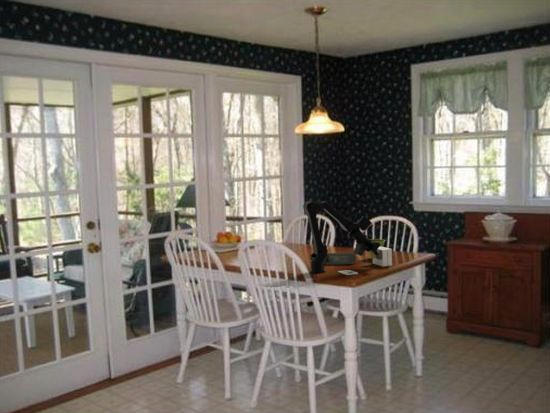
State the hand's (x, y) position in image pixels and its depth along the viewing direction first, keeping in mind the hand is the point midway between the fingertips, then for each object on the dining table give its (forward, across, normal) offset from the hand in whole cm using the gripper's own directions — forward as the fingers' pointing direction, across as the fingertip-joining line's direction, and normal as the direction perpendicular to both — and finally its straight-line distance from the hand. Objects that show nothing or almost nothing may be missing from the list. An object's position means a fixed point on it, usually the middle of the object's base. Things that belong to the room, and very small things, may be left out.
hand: (376, 254), depth 324 cm
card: (-12, +8, -21) cm, 26 cm away
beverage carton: (-5, -20, -15) cm, 25 cm away
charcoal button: (+4, 0, 0) cm, 4 cm away
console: (+8, -3, -1) cm, 9 cm away
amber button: (+2, -6, -2) cm, 6 cm away
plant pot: (+14, -22, +4) cm, 26 cm away
